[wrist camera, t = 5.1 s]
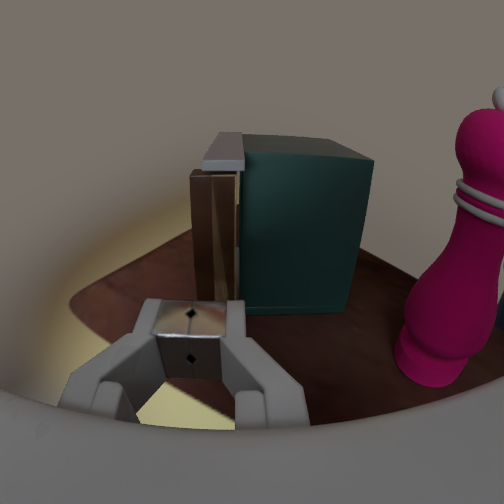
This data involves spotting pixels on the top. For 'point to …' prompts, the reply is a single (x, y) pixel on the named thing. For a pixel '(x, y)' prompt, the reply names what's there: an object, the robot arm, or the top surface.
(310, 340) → the top surface
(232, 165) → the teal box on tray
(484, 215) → the pepper mill
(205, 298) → the sliding door
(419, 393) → the top surface
